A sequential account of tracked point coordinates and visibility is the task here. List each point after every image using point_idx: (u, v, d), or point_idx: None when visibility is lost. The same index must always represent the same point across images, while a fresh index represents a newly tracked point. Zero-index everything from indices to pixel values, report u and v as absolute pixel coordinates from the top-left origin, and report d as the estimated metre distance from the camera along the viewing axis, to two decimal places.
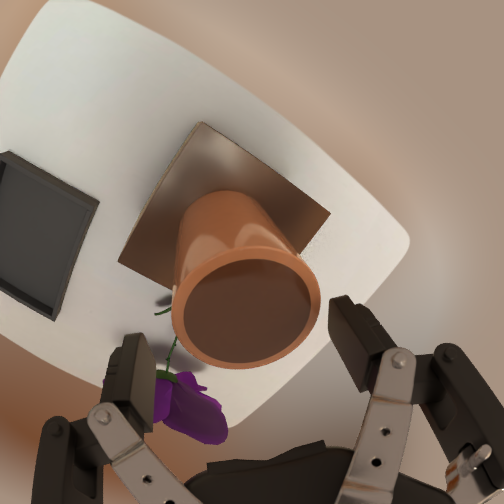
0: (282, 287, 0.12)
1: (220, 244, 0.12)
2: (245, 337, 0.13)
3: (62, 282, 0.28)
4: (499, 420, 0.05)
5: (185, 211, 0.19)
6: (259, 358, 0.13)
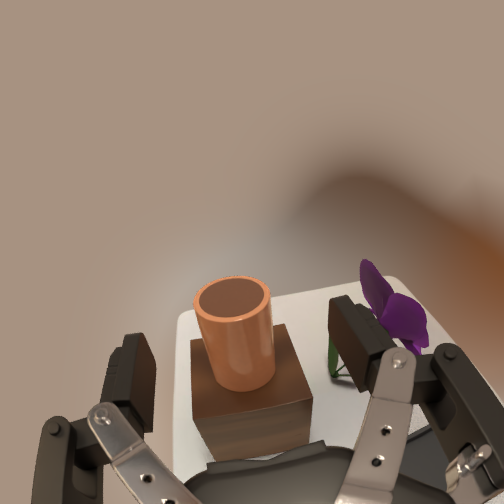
0: (208, 298, 0.25)
1: (211, 327, 0.23)
2: (242, 291, 0.25)
3: (409, 437, 0.26)
4: (499, 420, 0.05)
5: (247, 390, 0.26)
6: (248, 280, 0.26)
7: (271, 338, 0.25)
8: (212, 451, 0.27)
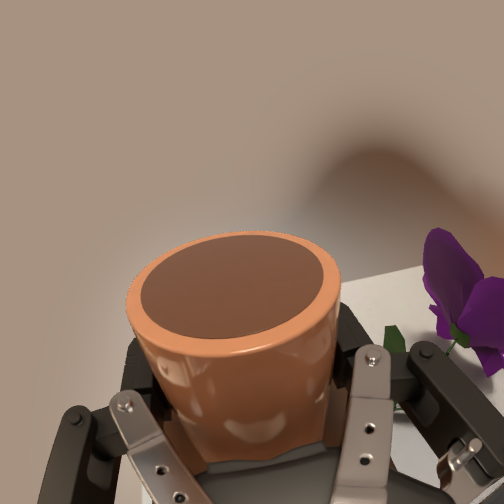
0: (169, 280, 0.09)
1: (168, 367, 0.07)
2: (260, 262, 0.09)
3: (503, 490, 0.10)
4: (486, 412, 0.06)
5: None
6: (273, 238, 0.11)
7: (331, 381, 0.10)
8: None
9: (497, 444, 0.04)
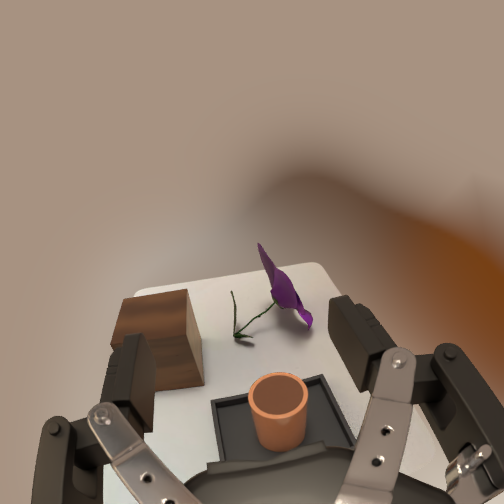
0: (260, 395, 0.30)
1: (265, 420, 0.27)
2: (286, 388, 0.30)
3: None
4: (499, 420, 0.05)
5: None
6: (289, 378, 0.31)
7: (306, 418, 0.30)
8: None
9: None
